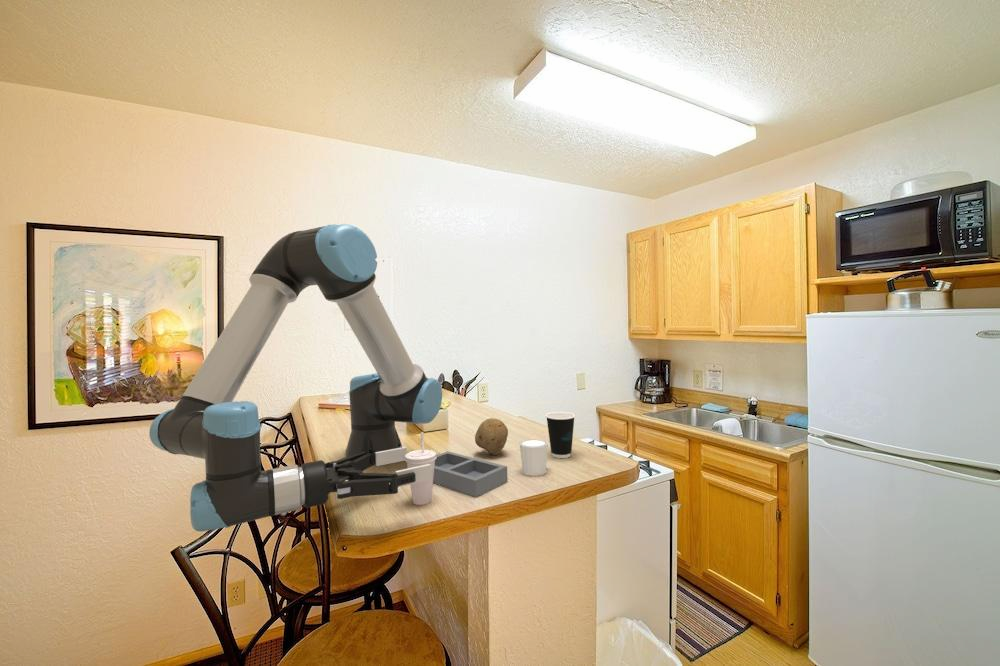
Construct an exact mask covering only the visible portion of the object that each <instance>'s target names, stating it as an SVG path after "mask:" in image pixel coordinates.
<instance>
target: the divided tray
mask: <svg viewBox="0 0 1000 666" xmlns="http://www.w3.org/2000/svg"><path fill="white" fill-rule="evenodd" d="M436 457H437V458H436V459H435V466H434V476H433V482H434V483H433V484H435V483H437V484H436V485H438V484H440V485H439V486H441V485H443V486H442V487H444V486H446V487H445V488H447V487H448V489H450V488H451V489H450V490H453V489H454V491H456V490H457V491H456V492H459V491H460V492H459V493H462V492H463V493H462V494H464V493H465V494H464V495H467V494H468V495H467V496H470V495H471V497H473V496H475V497H474V498H478V497H480V496H481V495H484V494H486V493H488V492H490V491H492V490H494V489H496V488H497V487H498V488H499V487H500V486H502V485H505V484H506V483H507V482H508V466H507V465H503V464H500V463H499V464H498V463H495V462H492V461H487V460H483V459H479V458H476V457H472V456H467V455H465V454H460V453H456V452H453V451H445V452H442V453H439V454H436ZM479 495H480V496H479Z"/></svg>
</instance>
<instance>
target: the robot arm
mask: <svg viewBox="0 0 1000 666" xmlns="http://www.w3.org/2000/svg"><path fill="white" fill-rule="evenodd" d="M270 247H271V248H270V249H269V250H268V251H267V252H266V253H265V255H263V257H262V258H261V260H260V261H259V262H258V264H257V266H256V267H255V269H254V270H253V271H252V273H251V275H250V276H249V278H248V279H249V280H248V281H249V283H250V285H251V286H250V287H249V289H248V290H247V292H246V294H245V295H244V297H243V298H242V300H241V301H240V303H239V305H238V306H237V308H236V310H235V311H234V312H233V314H232V316H231V317H230V319H229V321H227V324H225V327H224V328H223V330H222V332H221V333H220V335H219V337H218V338H217V340H216V341H215V342H214V345H213V347H212V348H211V350H210V351H209V353H208V354H207V355H206V358H205V359H204V361H203V362H202V364H201V366H200V367H199V368H198V370H197V372H196V374H195V375H194V376H193V378H192V380H191V381H190V383H189V384H188V386H187V387H186V389H185V391H184V393H183V394H182V396H181V397H180V398H179V400H178V402H177V403H176V405H175V406H174V408H171V409H168V410H165V411H164V412H162V413H160V414H159V415H158V416H156V417H154V419H153V421H152V422H151V424H150V427H149V431H148V432H149V440H150V441H151V443H152V444H153V445H154V447H156V449H157V448H158V449H160V450H161V451H165V452H168V453H170V454H172V455H183V456H189V457H194V458H198V459H203V460H204V461H205V464H204V465H205V467H204V468H205V480H202V481H201V482H197V483H195V484H194V485H192V486H191V491H190V500H189V502H190V508H189V509H190V510H189V515H190V524H191V527H192V529H193V530H195V532H202V533H203V532H207V531H212V530H213V531H214V530H217V529H224V528H225V529H227V528H231V527H232V526H233V527H234V526H237V525H240V524H245V523H248V522H252V521H256V520H260V519H264V518H268V517H274V516H278V515H280V516H283V517H284V516H286V515H287V513H289V512H290V513H291V512H294V511H298V510H300V509H301V507H302V506H303V507H304V508H306V509H307V508H312V507H317V506H320V505H324V504H326V503H327V502H328V501H329V495H330V493H337V496H336V497H337V499H338V500H342V499H347V498H352V497H365V496H366V497H367V496H381V495H396V494H398V493H399V488H400V487H404V486H408V485H410V484H413V483H418V482H422V481H426V480H430V479H431V465H430V464H426V465H422V466H417V467H412V468H408V467H407V468H403V469H399V470H395V473H385V472H384V473H383V472H381V473H380V472H377V473H376V472H363V471H365V470H367V469H369V468H371V467H372V466H374V465H375V466H376V467H379V466H384V465H389V464H394V463H395V464H396V463H398V462H403V461H405V455H406V454H407V453H408V449H407V447H406V446H403V445H402V442H401V439H400V437H399V433H398V431H397V428H396V423H397V422H398V423H405V424H415V425H418V424H420V425H421V424H422V425H423V424H429V423H431V422H432V421H434V419H435V418H436V417H437V416H438V415H439V412H440V410H441V406H442V402H443V388H442V386H441V383H440V381H439V380H438V379H435V378H433V377H432V378H431V377H430V378H429V377H427V376H426V374H425V372H424V369H423V368H422V366H420V365H418V364H416V363H413V361H412V359H411V357H410V355H409V354H408V351H407V350H406V348H405V346H404V343H403V342H402V340H401V338H400V335H399V334H398V332H397V330H396V328H395V326H394V324H393V323H392V321H391V319H390V316H389V315H388V313H387V311H386V309H385V306H384V305H383V303H382V301H381V299H380V297H379V295H378V293H377V291H376V289H375V287H374V284H375V281H376V279H377V275H376V271H377V267H378V261H377V260H376V259H377V258H378V254H377V250H376V247H375V246H374V243H373V242H372V239H371V238H370V237H369V236H368V235H367V234H366V232H364V231H363V230H362V229H360V228H358V227H357V226H356V227H355V226H353V225H351V224H346V223H343V224H327V225H324V226H320V227H315V228H314V227H313V228H308V229H306V230H304V229H303V230H297V231H293V232H290V233H288V234H286V235H284V236H283V237H281V238H280V239H279V240H278V241H276V242H275V243H274V244H273V245H272V246H270ZM311 286H317V287H318V290H320V292H321V294H322V295H323V297H324V299H325V300H326V301H327V302H332V303H336V305H337V306H338V308H339V311H341V314H343V317H344V318H345V321H346V322H347V323H348V325H349V326H350V329H351V330H352V333H353V334H354V335H355V337H356V339H357V340H358V343H359V344H360V346H361V347H362V348H361V349H363V351H364V352H365V355H366V356H367V358H368V359H369V361H370V363H371V365H372V366H373V368H374V370H375V373H370V374H364V375H363V374H362V375H359V376H358V375H357V376H353V377H352V378H351V379H350V382H349V391H348V394H349V407H350V410H349V411H350V426H351V427H350V429H351V431H350V434H349V437H348V441H347V444H346V449H345V453H344V455H345V456H344V457H343V458H340V459H338V460H334V461H330V462H325V461H324V460H321V459H320V460H315V461H310V462H304V463H303V464H301V466H300V467H299V465H298V464H293V465H287V466H282V467H276V468H272V469H271V468H270V469H268V470H262V466H261V465H262V462H261V422H260V417H259V410H258V406H257V404H256V403H255V402H252V401H248V400H247V401H246V400H244V401H243V400H242V401H234V399H235V397H237V394H238V392H239V390H240V389H241V387H242V385H243V384H244V382H245V380H246V379H247V377H248V375H249V373H250V371H251V369H252V368H253V366H254V365H255V362H256V361H257V359H258V357H259V356H260V354H261V352H262V350H263V348H264V347H265V345H266V343H267V341H268V339H269V338H270V336H271V334H272V332H273V330H274V329H275V328H276V325H277V324H278V322H279V320H280V318H281V316H283V315H282V314H283V313H284V311H285V309H286V307H287V306H288V304H291V303H294V302H296V300H297V298H298V297H299V295H300V294H301V292H303V291H304V290H305V289H306V288H308V287H311Z"/></svg>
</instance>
